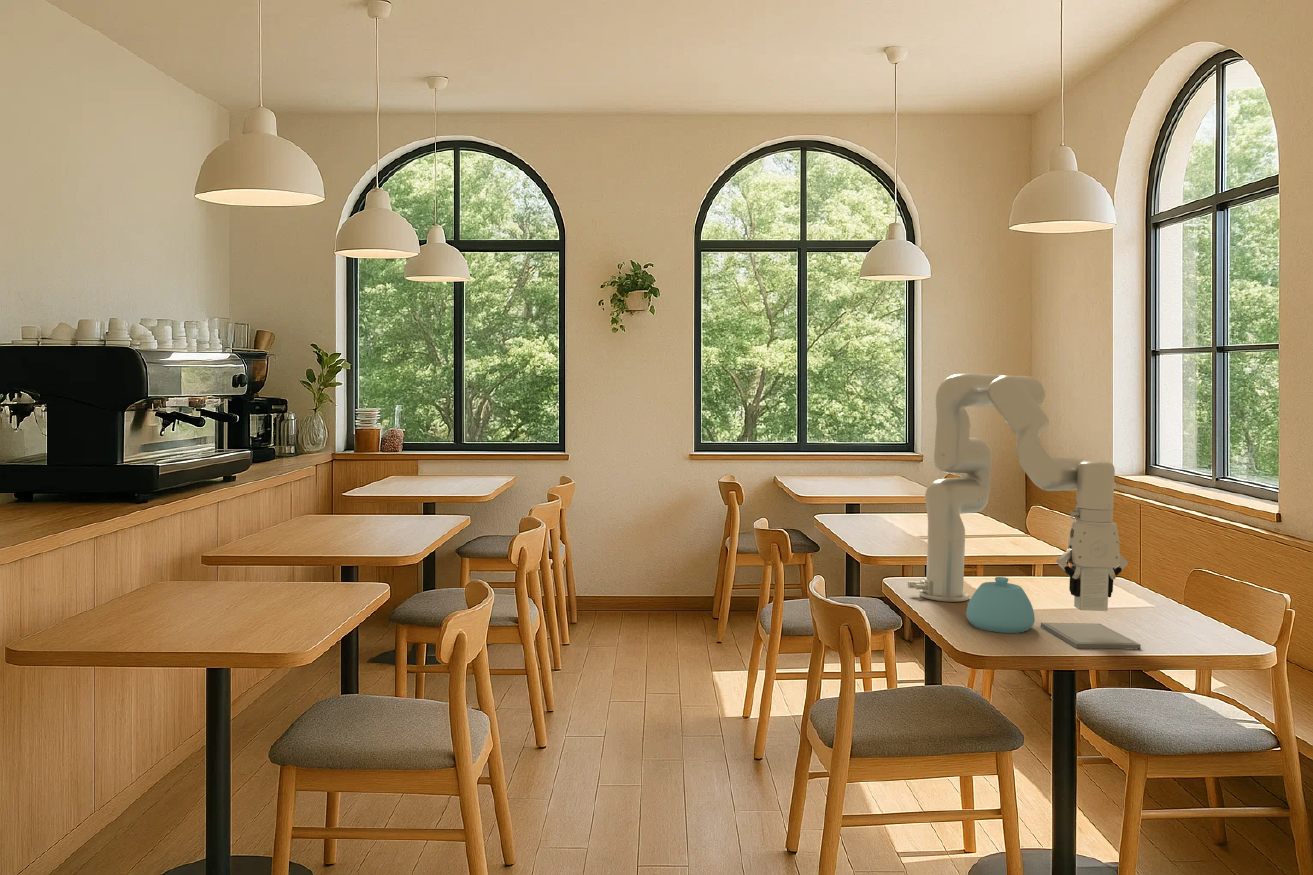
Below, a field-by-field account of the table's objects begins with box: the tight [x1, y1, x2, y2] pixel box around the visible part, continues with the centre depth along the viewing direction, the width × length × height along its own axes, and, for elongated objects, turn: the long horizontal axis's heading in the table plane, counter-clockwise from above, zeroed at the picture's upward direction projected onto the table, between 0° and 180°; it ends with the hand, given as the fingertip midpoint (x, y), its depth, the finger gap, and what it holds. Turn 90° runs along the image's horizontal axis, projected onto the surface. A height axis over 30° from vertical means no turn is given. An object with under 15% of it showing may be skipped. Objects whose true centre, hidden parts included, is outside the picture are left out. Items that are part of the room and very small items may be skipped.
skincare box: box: [1073, 568, 1109, 612], centre depth 210 cm, size 6×4×12 cm
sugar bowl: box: [965, 576, 1036, 634], centre depth 220 cm, size 15×15×12 cm
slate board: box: [1040, 622, 1142, 649], centre depth 211 cm, size 14×18×1 cm
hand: (1090, 595), depth 210 cm, fingers closed on skincare box, 6 cm apart
